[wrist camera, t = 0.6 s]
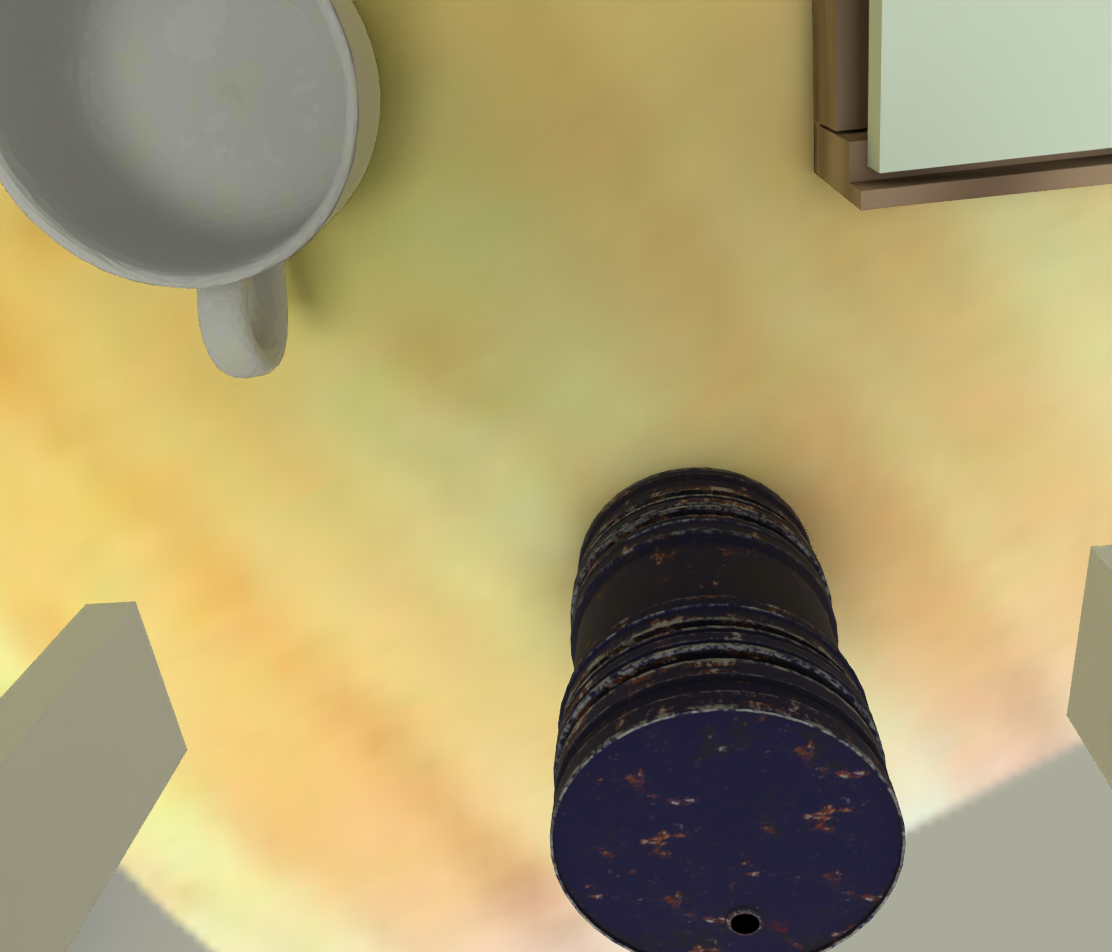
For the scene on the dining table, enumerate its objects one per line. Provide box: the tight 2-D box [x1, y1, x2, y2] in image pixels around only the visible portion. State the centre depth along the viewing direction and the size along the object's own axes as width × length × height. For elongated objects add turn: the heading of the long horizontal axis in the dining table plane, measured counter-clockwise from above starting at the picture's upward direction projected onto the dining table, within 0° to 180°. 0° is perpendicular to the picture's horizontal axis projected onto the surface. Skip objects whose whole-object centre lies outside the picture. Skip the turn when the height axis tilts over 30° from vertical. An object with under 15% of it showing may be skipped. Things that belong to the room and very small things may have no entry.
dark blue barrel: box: [550, 468, 906, 952], centre depth 34 cm, size 10×10×15 cm
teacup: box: [0, 0, 380, 378], centre depth 31 cm, size 14×11×8 cm
